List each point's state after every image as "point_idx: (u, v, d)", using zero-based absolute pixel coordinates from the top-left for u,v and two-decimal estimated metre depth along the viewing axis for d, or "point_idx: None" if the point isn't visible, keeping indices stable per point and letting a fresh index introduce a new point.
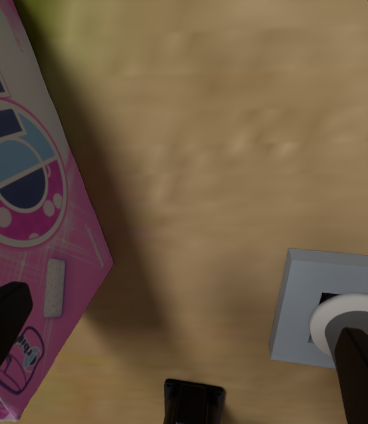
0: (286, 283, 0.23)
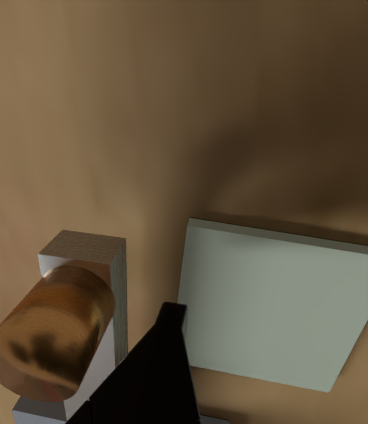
0: None
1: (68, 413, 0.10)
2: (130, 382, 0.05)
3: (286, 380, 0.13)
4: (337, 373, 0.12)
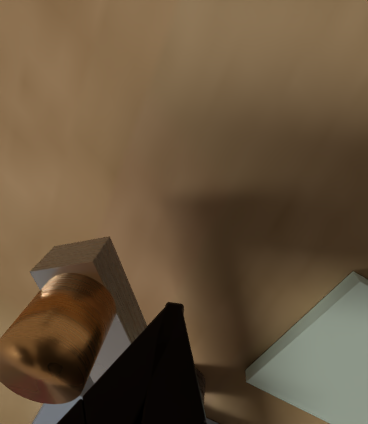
0: None
1: None
2: (124, 381, 0.05)
3: None
4: None
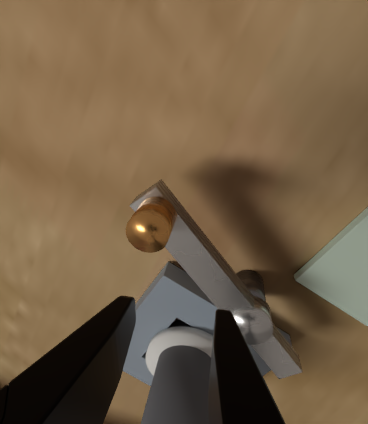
0: None
1: (203, 289, 0.17)
2: (53, 368, 0.06)
3: (357, 316, 0.20)
4: None
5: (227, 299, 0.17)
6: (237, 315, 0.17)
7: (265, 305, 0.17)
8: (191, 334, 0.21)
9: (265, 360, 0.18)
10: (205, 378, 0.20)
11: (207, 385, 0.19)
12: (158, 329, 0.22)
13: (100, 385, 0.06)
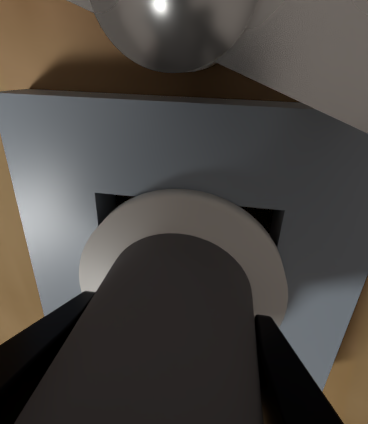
0: None
1: None
2: (3, 360, 0.06)
3: None
4: None
5: None
6: None
7: None
8: (130, 204, 0.08)
9: (322, 104, 0.05)
10: (189, 278, 0.06)
11: (197, 293, 0.06)
12: None
13: None
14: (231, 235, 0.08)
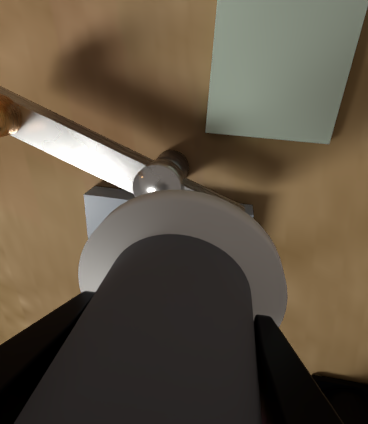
0: None
1: (91, 171, 0.16)
2: (3, 360, 0.06)
3: (296, 136, 0.17)
4: (334, 120, 0.16)
5: (116, 168, 0.15)
6: (134, 180, 0.15)
7: (164, 161, 0.16)
8: (129, 205, 0.08)
9: None
10: (188, 280, 0.06)
11: (196, 294, 0.06)
12: None
13: None
14: (230, 236, 0.08)
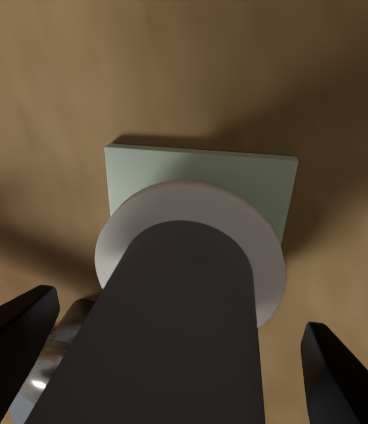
0: None
1: None
2: None
3: None
4: None
5: None
6: None
7: (55, 350, 0.12)
8: (142, 194, 0.09)
9: None
10: (197, 259, 0.07)
11: (204, 271, 0.07)
12: None
13: (2, 367, 0.07)
14: (234, 222, 0.09)
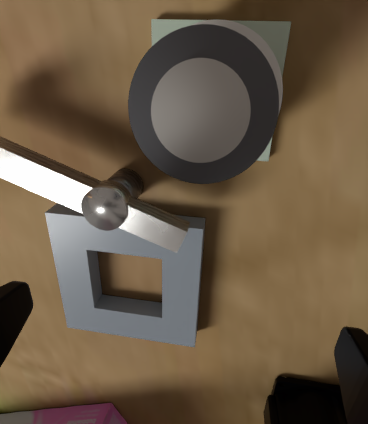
0: None
1: (43, 194, 0.17)
2: None
3: None
4: None
5: (65, 191, 0.16)
6: (82, 202, 0.16)
7: (110, 183, 0.17)
8: None
9: (147, 238, 0.17)
10: None
11: None
12: (83, 270, 0.22)
13: None
14: None
